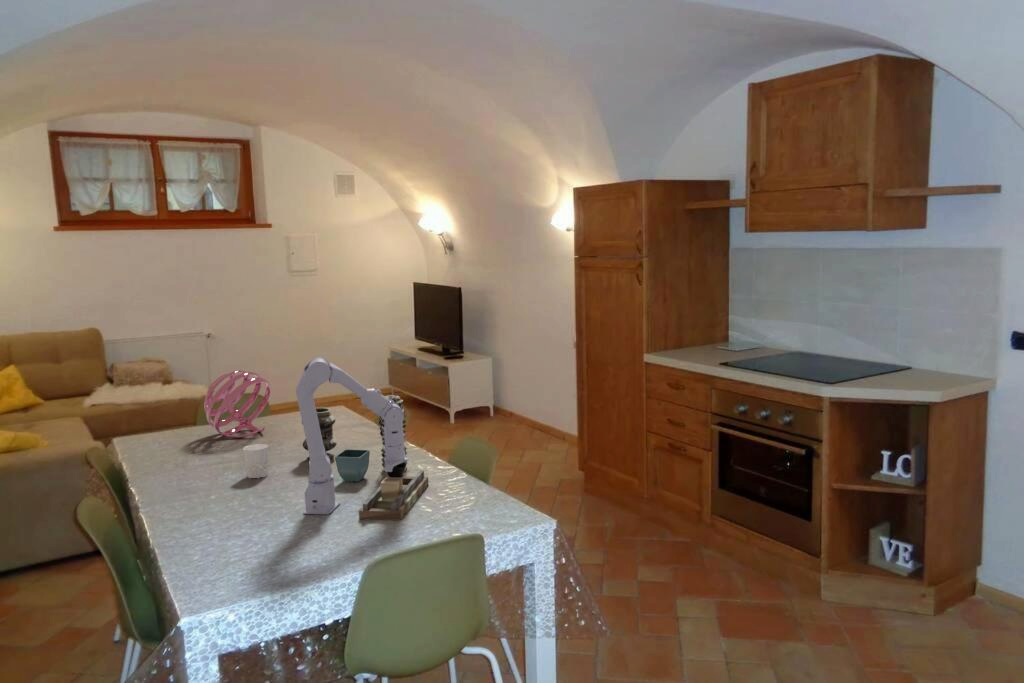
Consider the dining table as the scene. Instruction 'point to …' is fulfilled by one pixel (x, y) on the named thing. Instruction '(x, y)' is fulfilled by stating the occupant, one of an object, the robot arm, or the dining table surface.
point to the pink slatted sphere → (233, 399)
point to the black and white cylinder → (381, 422)
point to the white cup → (256, 460)
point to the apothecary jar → (325, 430)
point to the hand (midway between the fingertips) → (396, 488)
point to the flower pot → (352, 464)
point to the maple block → (391, 487)
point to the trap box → (394, 500)
